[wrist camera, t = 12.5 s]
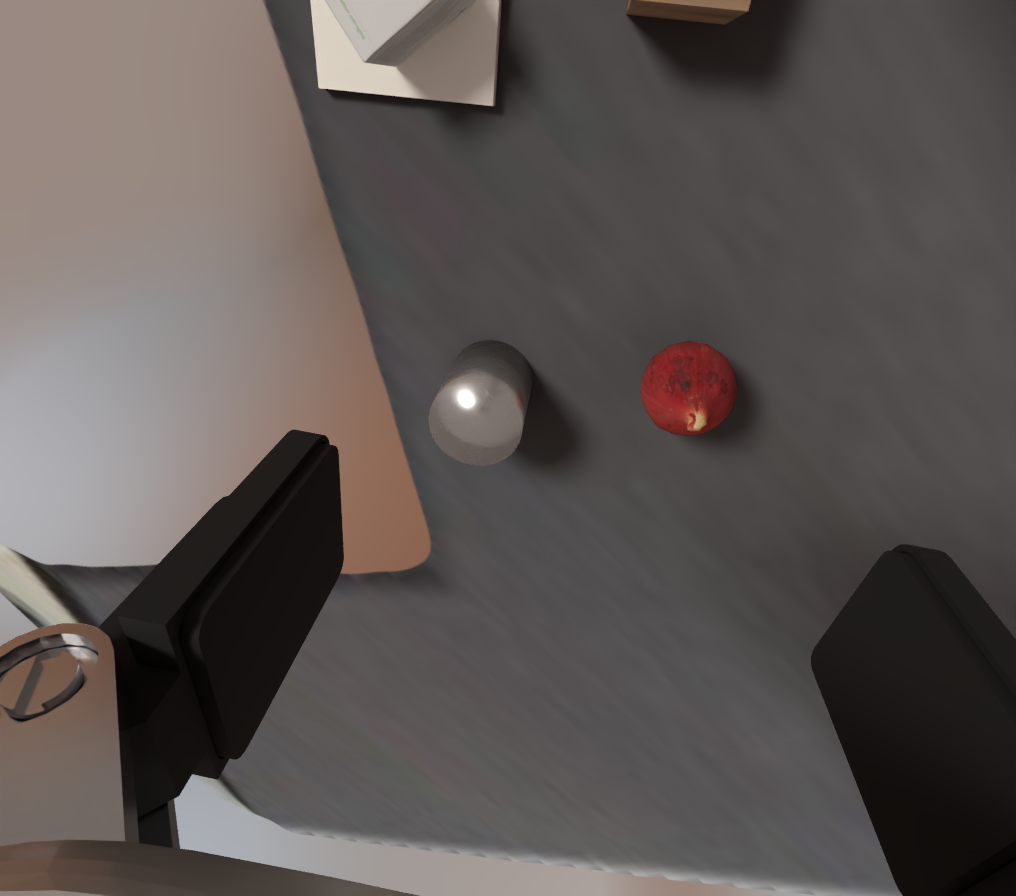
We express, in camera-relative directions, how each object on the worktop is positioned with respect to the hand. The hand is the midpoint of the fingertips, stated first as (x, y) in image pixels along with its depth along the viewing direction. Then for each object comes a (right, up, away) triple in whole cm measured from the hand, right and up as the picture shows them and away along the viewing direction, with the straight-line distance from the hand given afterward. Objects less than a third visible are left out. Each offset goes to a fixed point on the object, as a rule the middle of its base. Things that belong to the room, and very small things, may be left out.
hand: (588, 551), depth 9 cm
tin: (-3, +7, +30) cm, 31 cm away
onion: (+10, +8, +28) cm, 31 cm away
